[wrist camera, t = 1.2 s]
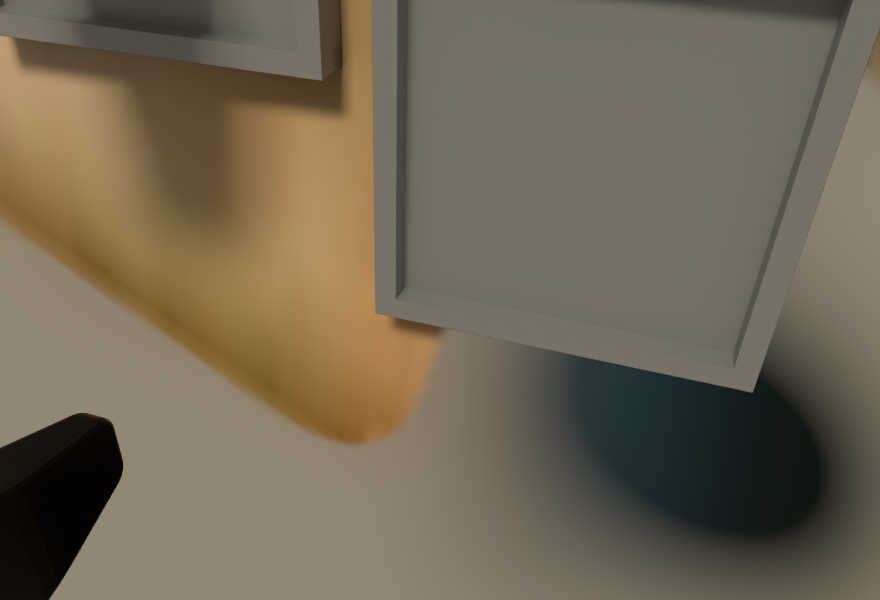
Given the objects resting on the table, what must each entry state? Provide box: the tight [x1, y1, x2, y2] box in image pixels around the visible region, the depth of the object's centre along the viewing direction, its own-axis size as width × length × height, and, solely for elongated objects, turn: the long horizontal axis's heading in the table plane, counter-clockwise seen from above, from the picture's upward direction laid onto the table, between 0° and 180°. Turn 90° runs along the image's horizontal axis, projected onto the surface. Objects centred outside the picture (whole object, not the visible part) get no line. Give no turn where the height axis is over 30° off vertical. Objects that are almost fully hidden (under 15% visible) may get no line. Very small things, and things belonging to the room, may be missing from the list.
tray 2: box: [372, 0, 880, 392], centre depth 18 cm, size 10×10×1 cm
